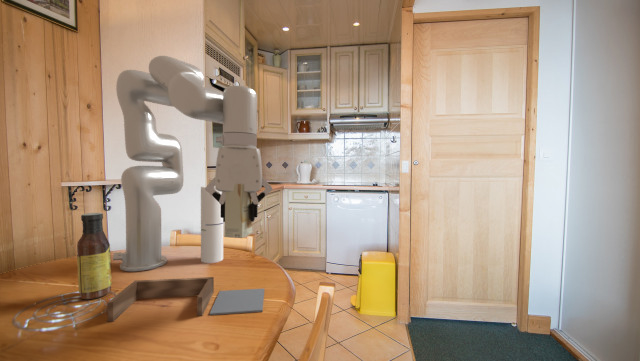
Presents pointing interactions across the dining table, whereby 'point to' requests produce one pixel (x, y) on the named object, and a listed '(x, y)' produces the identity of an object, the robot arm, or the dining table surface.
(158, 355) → the dining table surface
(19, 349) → the dining table surface
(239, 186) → the skincare box
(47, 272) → the dining table surface
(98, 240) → the sauce bottle
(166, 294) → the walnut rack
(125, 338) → the dining table surface
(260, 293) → the grey rubber mat
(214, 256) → the cylindrical container
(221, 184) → the robot arm
